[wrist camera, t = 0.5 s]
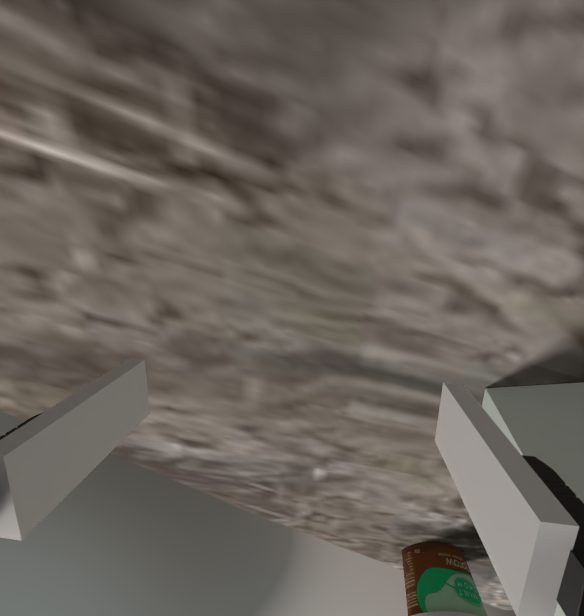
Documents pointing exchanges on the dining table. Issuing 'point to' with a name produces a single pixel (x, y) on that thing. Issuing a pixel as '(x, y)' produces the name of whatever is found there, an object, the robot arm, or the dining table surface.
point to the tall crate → (544, 427)
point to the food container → (439, 581)
